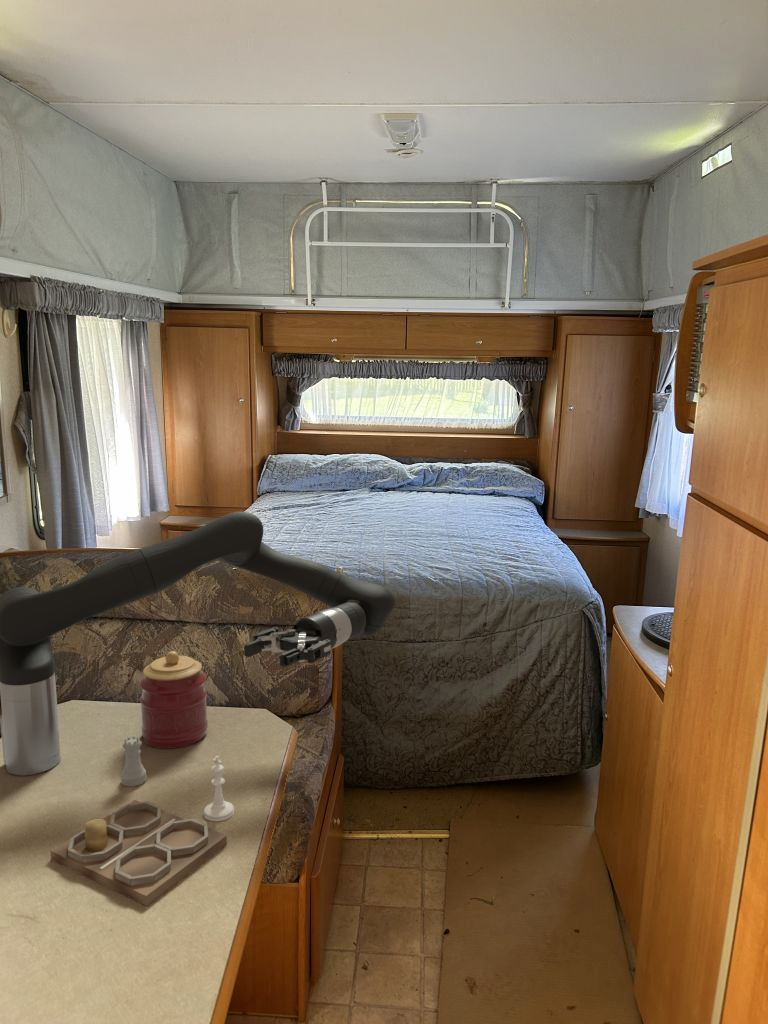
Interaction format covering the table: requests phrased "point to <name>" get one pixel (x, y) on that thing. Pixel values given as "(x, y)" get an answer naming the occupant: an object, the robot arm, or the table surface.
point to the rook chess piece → (133, 764)
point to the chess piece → (218, 797)
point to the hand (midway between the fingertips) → (263, 656)
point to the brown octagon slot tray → (139, 850)
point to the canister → (173, 702)
